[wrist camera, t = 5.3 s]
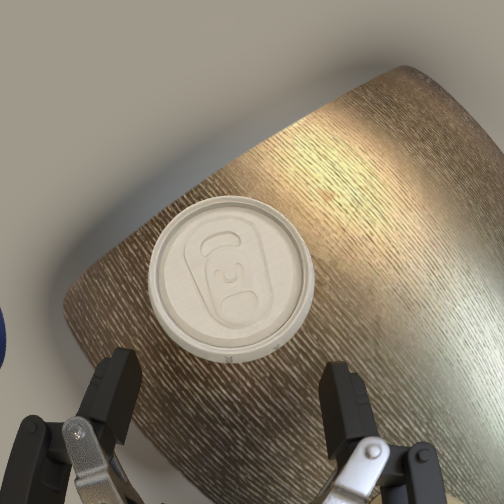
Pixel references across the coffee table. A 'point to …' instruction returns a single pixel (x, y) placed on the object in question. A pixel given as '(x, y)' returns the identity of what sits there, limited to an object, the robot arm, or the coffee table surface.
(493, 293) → the coffee table surface
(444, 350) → the coffee table surface
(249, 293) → the beer can
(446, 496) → the jar
